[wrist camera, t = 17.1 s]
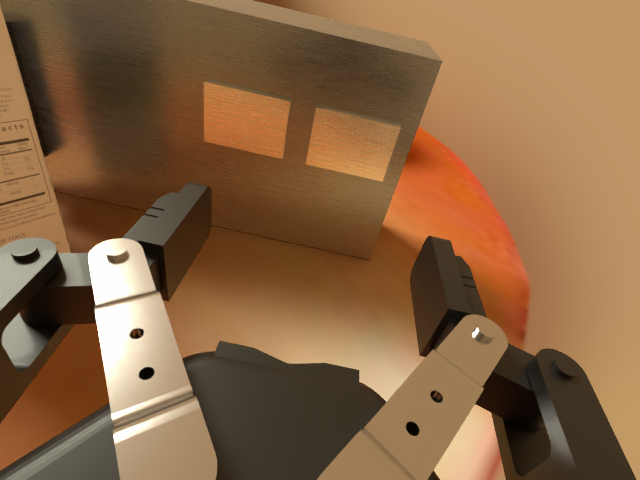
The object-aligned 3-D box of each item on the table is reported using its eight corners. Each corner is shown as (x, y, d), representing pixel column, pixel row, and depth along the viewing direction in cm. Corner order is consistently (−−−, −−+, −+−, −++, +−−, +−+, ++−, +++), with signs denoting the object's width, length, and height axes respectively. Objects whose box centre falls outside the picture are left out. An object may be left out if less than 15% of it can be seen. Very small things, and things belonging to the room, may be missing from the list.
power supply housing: (7, 195, 25) (-95, -61, 17) (77, 151, 31) (28, -54, 23) (369, 274, 26) (447, 67, 17) (369, 216, 32) (427, 42, 23)
